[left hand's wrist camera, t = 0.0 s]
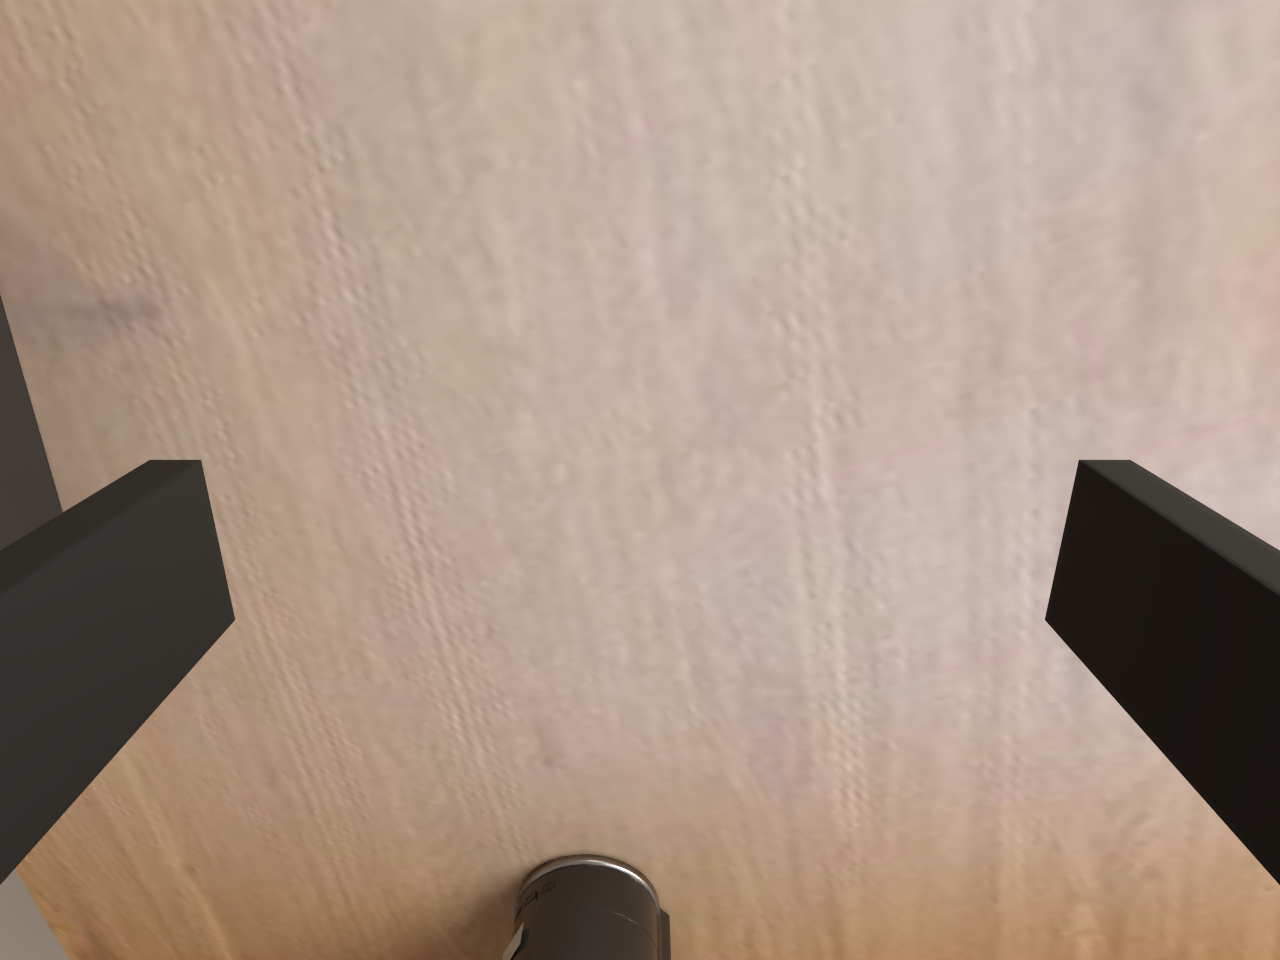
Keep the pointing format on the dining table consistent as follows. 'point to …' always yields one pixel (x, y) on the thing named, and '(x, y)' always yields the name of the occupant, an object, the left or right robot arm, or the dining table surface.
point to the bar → (20, 452)
